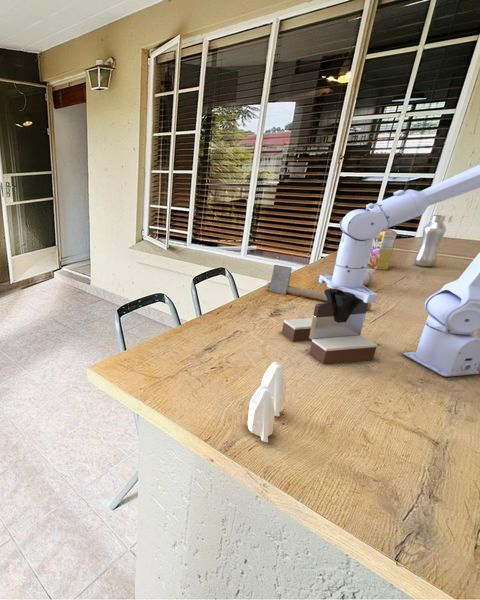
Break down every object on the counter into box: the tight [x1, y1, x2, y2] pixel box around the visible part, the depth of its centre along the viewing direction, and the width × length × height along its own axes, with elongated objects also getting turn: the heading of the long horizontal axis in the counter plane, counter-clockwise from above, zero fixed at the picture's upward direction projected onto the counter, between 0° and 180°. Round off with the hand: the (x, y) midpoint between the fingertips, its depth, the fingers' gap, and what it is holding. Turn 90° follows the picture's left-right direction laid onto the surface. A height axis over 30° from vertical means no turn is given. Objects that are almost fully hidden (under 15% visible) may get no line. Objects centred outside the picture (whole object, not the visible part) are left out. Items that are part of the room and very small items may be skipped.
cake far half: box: [281, 317, 313, 342], centre depth 92 cm, size 5×12×4 cm, turn 94°
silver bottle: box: [413, 214, 447, 267], centre depth 138 cm, size 6×7×20 cm
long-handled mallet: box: [266, 264, 372, 311], centre depth 114 cm, size 10×2×30 cm
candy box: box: [368, 228, 398, 271], centre depth 141 cm, size 9×4×15 cm, turn 160°
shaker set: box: [246, 361, 287, 443], centre depth 62 cm, size 12×4×11 cm, turn 139°
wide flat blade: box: [309, 301, 368, 341], centre depth 83 cm, size 1×12×9 cm, turn 94°
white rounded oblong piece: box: [363, 268, 376, 286], centre depth 125 cm, size 6×6×15 cm
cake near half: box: [309, 334, 378, 365], centre depth 82 cm, size 5×12×4 cm, turn 94°
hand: (338, 320), depth 83 cm, fingers closed on wide flat blade, 1 cm apart
